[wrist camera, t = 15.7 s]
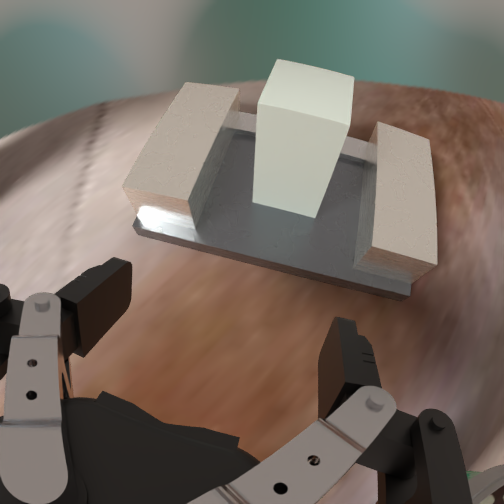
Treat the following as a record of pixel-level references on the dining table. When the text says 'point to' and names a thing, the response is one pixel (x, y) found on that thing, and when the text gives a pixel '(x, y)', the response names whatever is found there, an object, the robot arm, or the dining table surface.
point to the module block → (299, 135)
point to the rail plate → (281, 221)
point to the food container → (486, 486)
